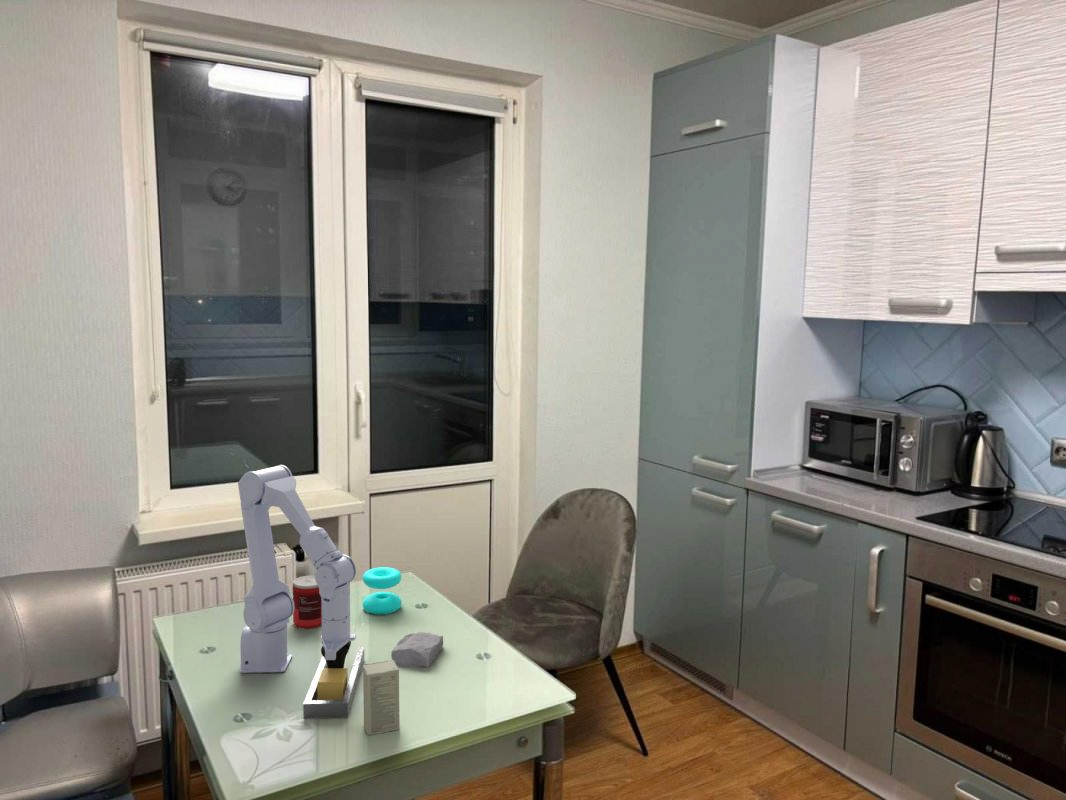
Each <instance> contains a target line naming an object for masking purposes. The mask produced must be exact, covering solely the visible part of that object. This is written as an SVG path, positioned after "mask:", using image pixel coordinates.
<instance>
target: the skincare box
mask: <svg viewBox="0 0 1066 800" xmlns="http://www.w3.org/2000/svg"><path fill="white" fill-rule="evenodd" d="M362 682H363V683H362V685H363V725H364V728H365V731H366V734H367V736H372V735H377V734H383V733H387V732H391V731H397V730H400V727H401V725H400V721H401V720H400V669H399V667H398V664H396V663H395V661H394V660H392V659H391V660H385V661H379V662H375V663H374V662H373V663H368V664H363V666H362Z"/></svg>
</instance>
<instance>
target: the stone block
mask: <svg viewBox="0 0 1066 800" xmlns="http://www.w3.org/2000/svg"><path fill="white" fill-rule="evenodd" d="M443 646H444V637H443V635H439V634H435V633H430V632H425V631H424V632H421V631H419V632H413V633H411V634H410V633H409V634H406V635H404V636H403V637H402V638H401V639H400V640H399V641H398V642H397V643H396V644H395V646H394V647H393V648H392V650H391V655H390V657H391V660H394V661H395V663H396V665H397V666H398V665H399V666H403V667H417V668H420V667H421V668H429V667H430V665H431V664H432V663H433V661H434V660H435V658H436V657H437V656H438V654H439V653H440V652H441V651H442V649H443Z"/></svg>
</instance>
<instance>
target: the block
mask: <svg viewBox="0 0 1066 800" xmlns="http://www.w3.org/2000/svg"><path fill="white" fill-rule="evenodd" d="M347 684H348V667H344V668H325V669H322V672H321V674H320V677H319V679H318V682H317V694H318V698H317V701H321V700H343V696H344V693H345V690H346V687H347Z"/></svg>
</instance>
